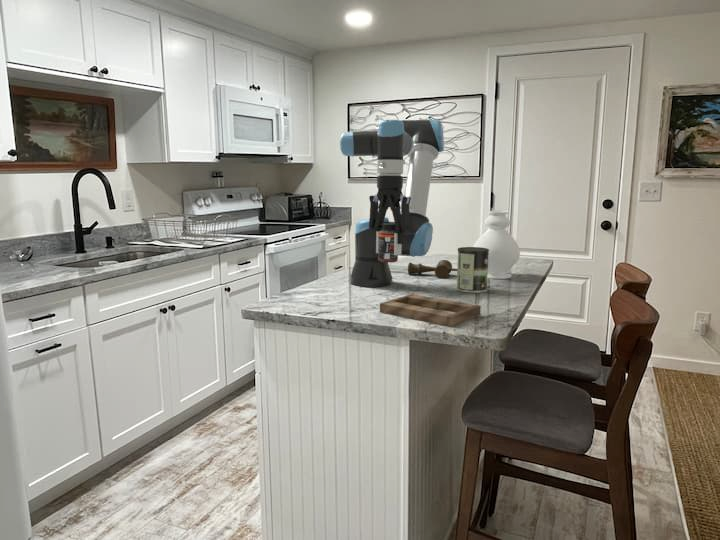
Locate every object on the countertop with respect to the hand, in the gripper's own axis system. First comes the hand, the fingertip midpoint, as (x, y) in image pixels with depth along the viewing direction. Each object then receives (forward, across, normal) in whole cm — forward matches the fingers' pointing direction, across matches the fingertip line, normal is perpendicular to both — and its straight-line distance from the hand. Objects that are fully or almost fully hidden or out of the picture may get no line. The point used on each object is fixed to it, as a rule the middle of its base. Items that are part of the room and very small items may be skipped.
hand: (388, 253), depth 158 cm
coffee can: (+15, +10, +34) cm, 38 cm away
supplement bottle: (+3, 0, 0) cm, 3 cm away
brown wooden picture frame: (+15, +17, -2) cm, 23 cm away
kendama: (+15, -13, +47) cm, 51 cm away
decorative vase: (+15, +5, +63) cm, 65 cm away
